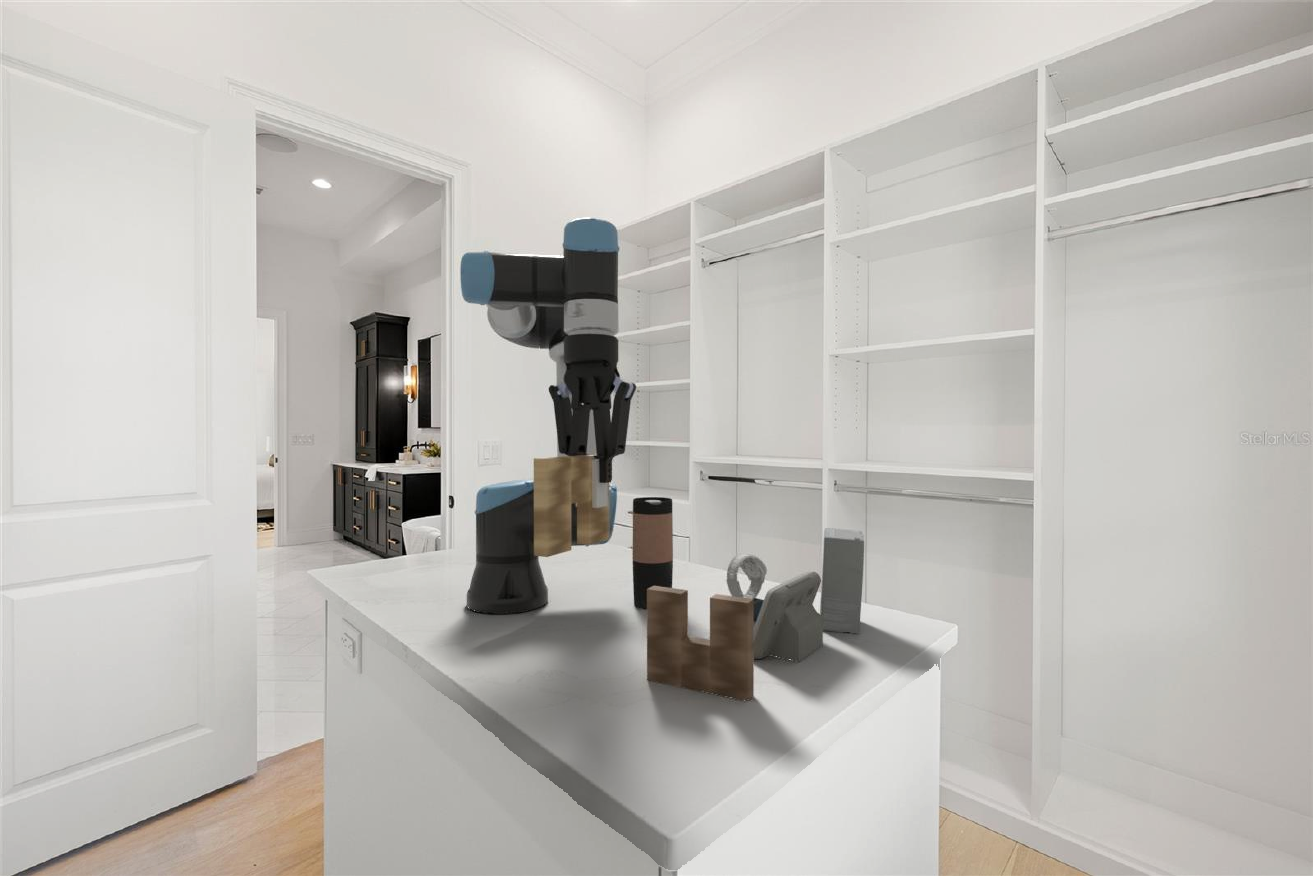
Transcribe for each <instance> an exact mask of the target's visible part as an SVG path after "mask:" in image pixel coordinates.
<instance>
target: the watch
mask: <svg viewBox="0 0 1313 876" xmlns="http://www.w3.org/2000/svg"><path fill="white" fill-rule="evenodd" d="M740 568H741V570H742V571H743V572H744V574H745V576H747V579H748V580H749V581H750V585H749V587H748V589H747V591H746V592H745V593H744V592H743V591H742V589H741V585H740V581H738V573H739V569H740ZM767 571H768V569H767V566H766V565H765V563H764V562H763V560H761V559H760V558H759V557H758V556H756V555H753V554H743V553H740V554H737V555H734V557H732V559H731V560H730V562H729V564H728V568H727V571H726V580H725V581H726V585H727V588H728V591H729V594H730V596H735V597H742V598H750V599H754V623H756V621H757V618H758V615H759V612H760V610H761V607H762V604H763V601H764V599H761V598H757V596H758V595H759V593H760V592H761V590H762V587H763V584H764V583H765V579H766V575H767Z"/></svg>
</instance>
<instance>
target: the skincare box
mask: <svg viewBox="0 0 1313 876" xmlns="http://www.w3.org/2000/svg"><path fill="white" fill-rule="evenodd" d="M864 537H865V535H864V534H863V532H862V530H852V529H851V530H850V529H843V528H842V529H841V528H831V527H830V528H829V527H828V528H824V532H823V553H822V568H821V569H822V571H821V572H822V573H821V584H820V586H821V588H820V589H821V591H820V602H819V603H820V605H819V614H820V615H821V616H822V620H823V631H826V632H837V633H843V632H850V633H849V634H853V633H857V634H856V635H859V634H860V633H861V632H860V631H861V629H860V628H861V612H862V600H863V599H862V598H863V583H864V582H863V581H864V564H865V540H864Z"/></svg>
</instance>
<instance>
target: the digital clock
mask: <svg viewBox="0 0 1313 876" xmlns="http://www.w3.org/2000/svg"><path fill="white" fill-rule="evenodd" d="M821 584H822V577H821V576H820V575H819V573H818V572H816V571H806V572H803V573H802V574H800V575H797V576H795V577H793V578H791V579H788V580H786V581H783V582H782V583H780V584H778V585H776V586H773V587H771V588H769V589H768V590H767V592H766V593H765V597H764V599H763V600H764V601H763V604H762V607H761V610H760V612H759V615H758V618H757V621H755V624H754V660H760V659H764V658H765V657H767V656H769V655H772V656H771V657H774V656H777V657H776V658H778V657H780V658H779V659H782V658H784V659H783V660H786V659H791V660H793V661H792V662H794V661H797V662H796V663H800V662H801V661H802V660H805V658H806V656H807V657H808V656H809V655H811V654H812V653H813V652H815V651H816V650H818V649H819V648H820V647H822V646H823V644H824V641H823V640H824V630H823V620H822V616H821V615H820V612H817V610H816V608H815V607H814V602H815V598H816V596H817V593H818V591H819V588H820V586H821Z"/></svg>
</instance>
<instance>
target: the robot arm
mask: <svg viewBox="0 0 1313 876" xmlns="http://www.w3.org/2000/svg"><path fill="white" fill-rule="evenodd" d="M563 228H564V229H563V243H562V248H563V250H562V251H563V253H562V254H563V255H561V256H560V255H541V254H540V255H539V254H523V253H522V254H521V253H520V254H518V253H506V252H505V253H503V252H490V251H488V250H487V251H476V252H475V251H474V252H470V251H469V252H466V253H464V254H463V255H462V257H461V260H460V271H459V272H460V289H461V295H462V298H463V300H464V301H465V302H466V303H468V304H476V305H480V306H485V305H486V307H487V320H488V324H489V325H490V327H491V328H492V330H493V331H494V333H496V334H497V336H499V337H501V338H502V339H504V340H506V341H507V342H511V343H512V344H515V345H518V346H521V347H524V348H529V349H541V350H542V349H546V350H548V355H549V358H550V359H551V360H552V361H553V362H555V364H556V366H555V367H556V373H555V374H556V385H555V384H551V385H549V386H548V392H549V394H550V397H551V399H552V401H553V409H554V419H555V427H556V440H557V441H556V443H557V445H556V446H557V449H556V450H557V451H556V452H557V454H556V455H557V456H556V457H565V456H581V455H594V458H595V459H596V460H592V508H599V507H604V506H608V483H609V540H605V541H602V542H598V543H595V544H591V545H584V544H577V503H572V504H571V547H574V546H575V547H578V546H579V547H580V546H582V547H583V546H585V547H589V546H597V545H598V546H600V545H605V544H607V543H608V542H609V541H611V538H612V536H613V531H614V526H615V521H616V513H617V502H618V487H617V486H616V485H614V484H611V482H612V479H613V459H614V458H615V457H617V456H619V455H623V454H625V452H626V445H627V436H628V427H629V417H630V412H631V411H630V410H631V404H632V403H631V402H632V399H633V396H634V394H635V393H636V390H637V385H636V384H635V383H634V382H629V381H626V380H625V379H624V378H623V379H622V378H621V375H620V372H619V370H618V362H619V339H618V337H616V335H617V334H618V333H619V332H620V331H619V299H618V296H619V295H618V294H619V293H618V291H619V290H618V289H619V283H618V282H619V251H620V247H619V237H618V234H619V233H618V230H617V229H618V228H617V227H616V226H615V225H614V224H613V223H612V222H610V221H609V220H606V219H601V218H597V217H595V218H594V217H593V218H592V217H583V218H582V217H581V218H575V219H573V220H571V221H568V222H567V223H566V224H565V226H564V227H563ZM613 393H615V394H614V398H613V404H612V396H611V395H612V394H613ZM611 409H612V411H611ZM475 496H476V498H475V499H476V500H475V510H474V515H475V555H476V556H475V566H474V569H473V574H472V577H471V581H470V584H469V588H468V589H467V592H466V607H467V606H468V607H469V608H470V609H473V610H475V611H479V612H478V613H480V612H485V613H484V614H488V613H494V614H493V615H505V613H508V614H515V613H517V612H518V613H523V612H522V611H524V612H528V611H527V610H529V611H532V610H531V609H533V610H535V609H538V607H539V608H541V607H543V606H544V605H543V604H545V605H546V604H547V603H548V602H549V590H548V589H549V588H548V586H547V584H546V582H545V578H544V575H543V571H542V568H541V565H540V560H539V559H540V558H539V557H540V556H534V478H530V479H529V478H528V479H527V478H526V479H525V478H524V479H518V480H517V479H516V480H511V481H504V482H503V481H502V482H498V483H497V482H496V483H492V484H489V485H486V486H483V487H481V488H480V489H479V490H478V491H477V493H476V495H475ZM547 601H548V602H547ZM546 602H547V603H546ZM542 605H543V606H542ZM540 606H541V607H540ZM470 609H469V610H470ZM475 611H474V612H475ZM495 613H496V614H495Z"/></svg>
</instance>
